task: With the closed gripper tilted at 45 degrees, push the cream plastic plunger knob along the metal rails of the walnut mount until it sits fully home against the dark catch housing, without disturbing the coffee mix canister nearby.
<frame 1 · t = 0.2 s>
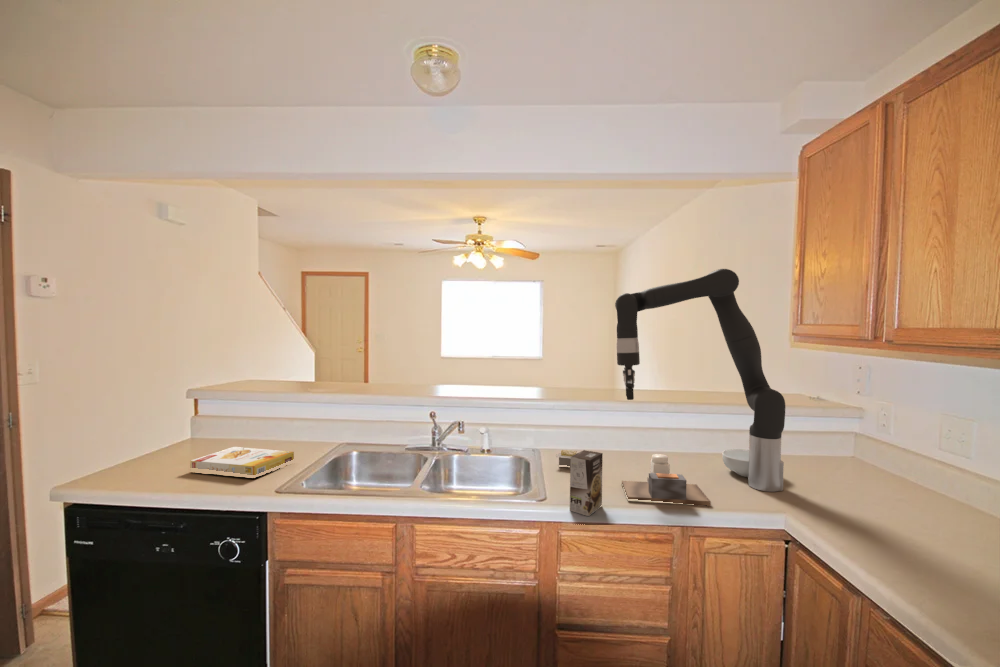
hand: (629, 398, 157), 29 cm above the countertop, tool pointing down, fingers open, 8 cm apart
cereal bowl: (747, 474, 164), on the countertop
knob mount: (663, 495, 144), on the countertop
plunger knob: (659, 469, 149), point 6 cm above the countertop, slide at 5.0 cm
coffee box: (586, 509, 133), on the countertop
cereal box: (243, 469, 168), on the countertop
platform: (569, 469, 170), on the countertop
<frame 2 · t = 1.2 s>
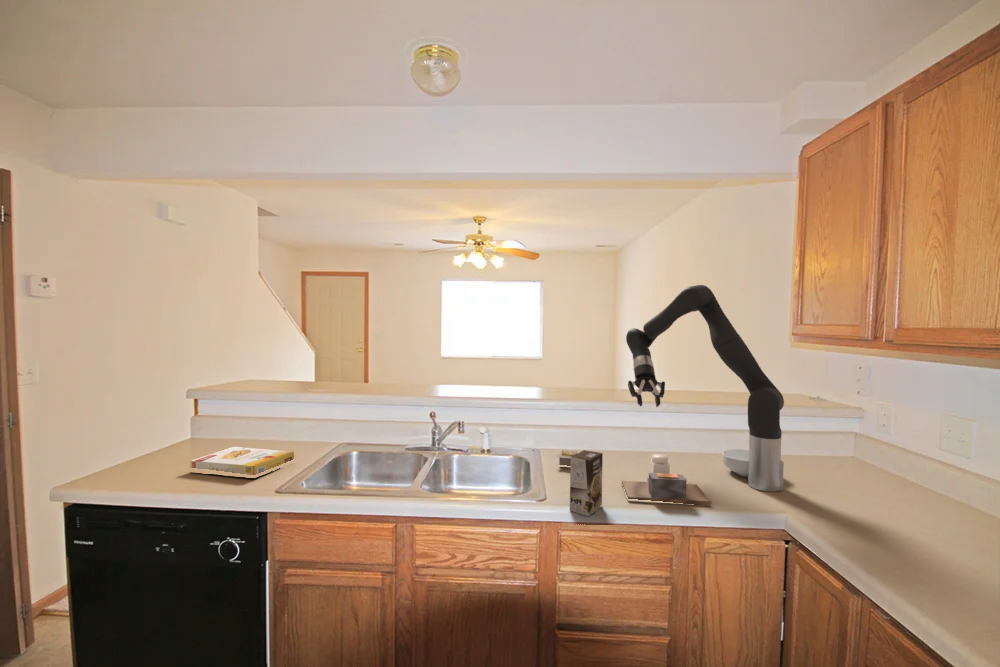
hand: (649, 405, 167), 24 cm above the countertop, tool tilted 45°, fingers open, 5 cm apart
nothing on the countertop moved.
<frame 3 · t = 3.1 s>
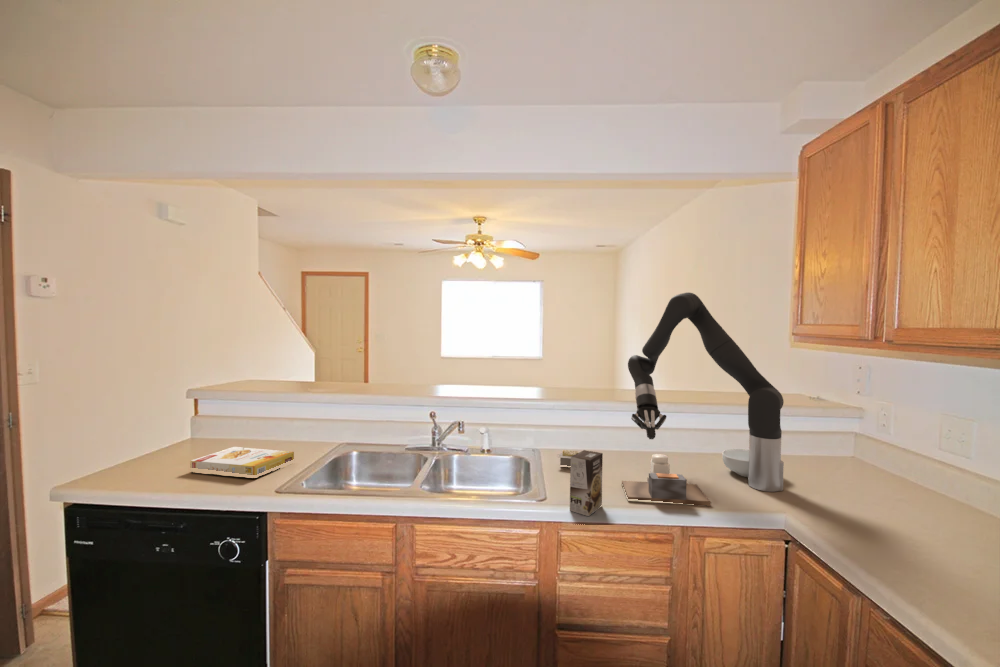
hand: (651, 438, 163), 13 cm above the countertop, tool tilted 45°, fingers closed
nothing on the countertop moved.
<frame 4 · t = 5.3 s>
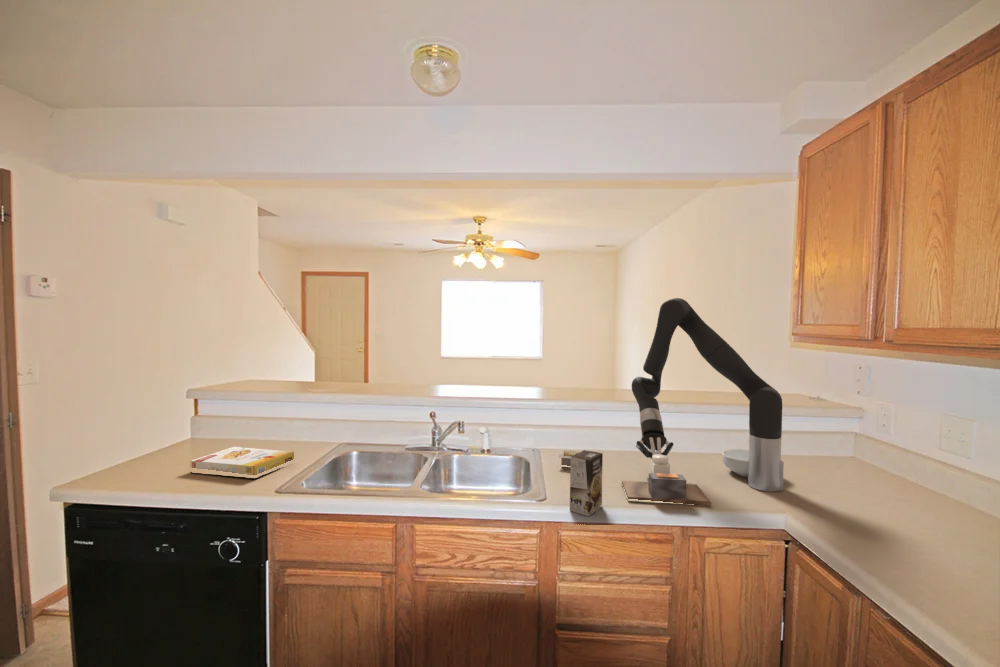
hand: (658, 468, 152), 6 cm above the countertop, tool tilted 45°, fingers closed
plunger knob: (660, 470, 149), point 6 cm above the countertop, slide at 4.6 cm, touching gripper
everything else where it was.
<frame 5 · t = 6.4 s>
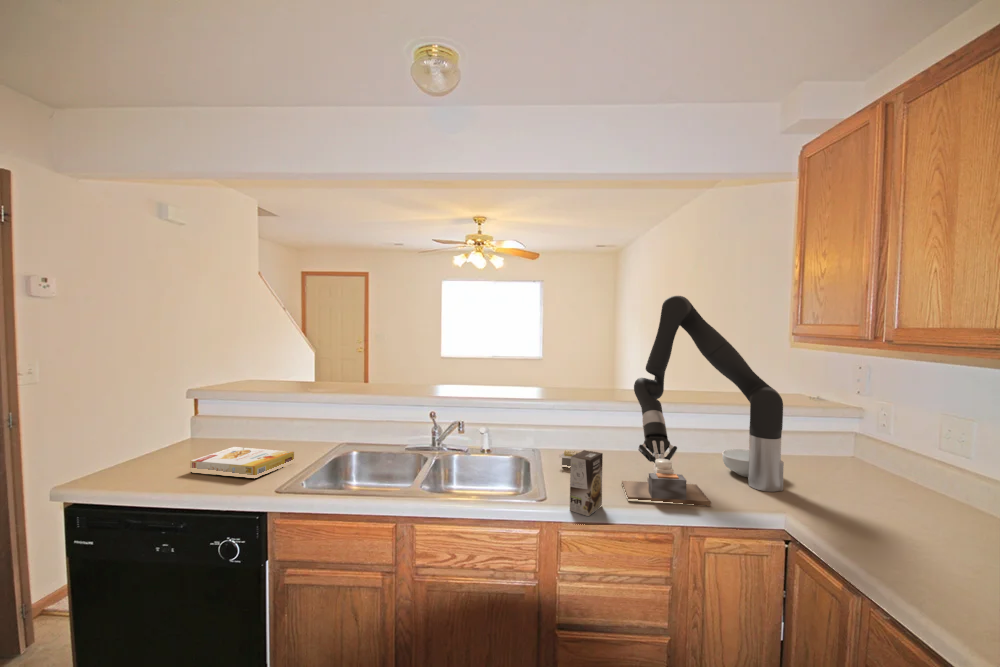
hand: (661, 472, 147), 6 cm above the countertop, tool tilted 45°, fingers closed
plunger knob: (663, 475, 144), point 6 cm above the countertop, slide at -0.2 cm, touching gripper
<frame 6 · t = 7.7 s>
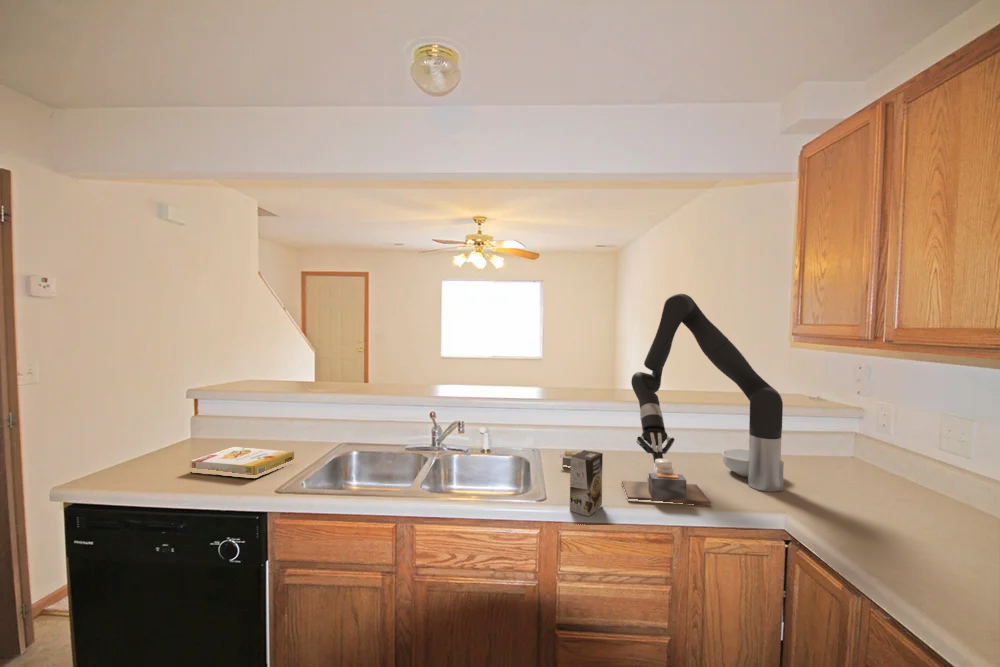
hand: (659, 463, 150), 8 cm above the countertop, tool tilted 45°, fingers closed
plunger knob: (663, 474, 144), point 6 cm above the countertop, slide at -0.1 cm
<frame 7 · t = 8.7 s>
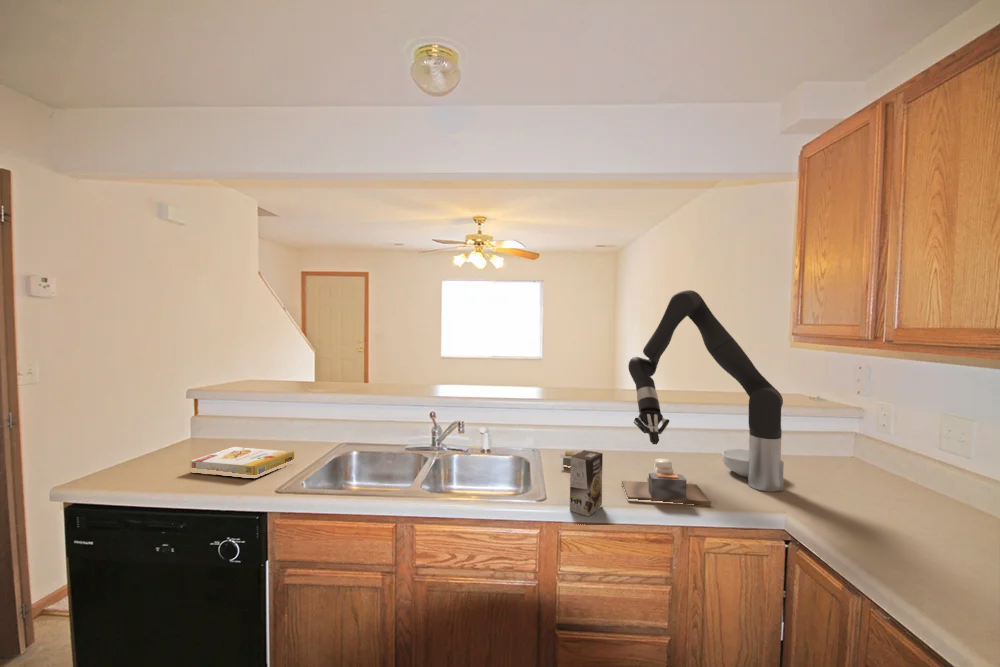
hand: (655, 443, 159), 12 cm above the countertop, tool tilted 45°, fingers closed
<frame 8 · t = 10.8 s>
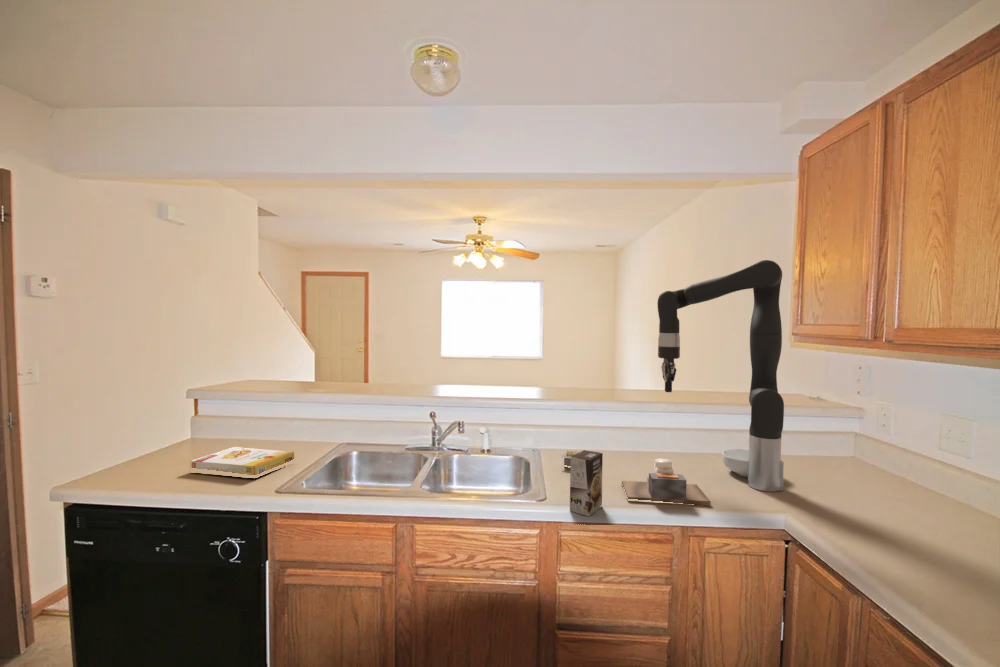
hand: (668, 391, 168), 29 cm above the countertop, tool pointing down, fingers closed
at the end: plunger knob slide at -0.1 cm; coffee box moved 0.2 cm from its start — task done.
